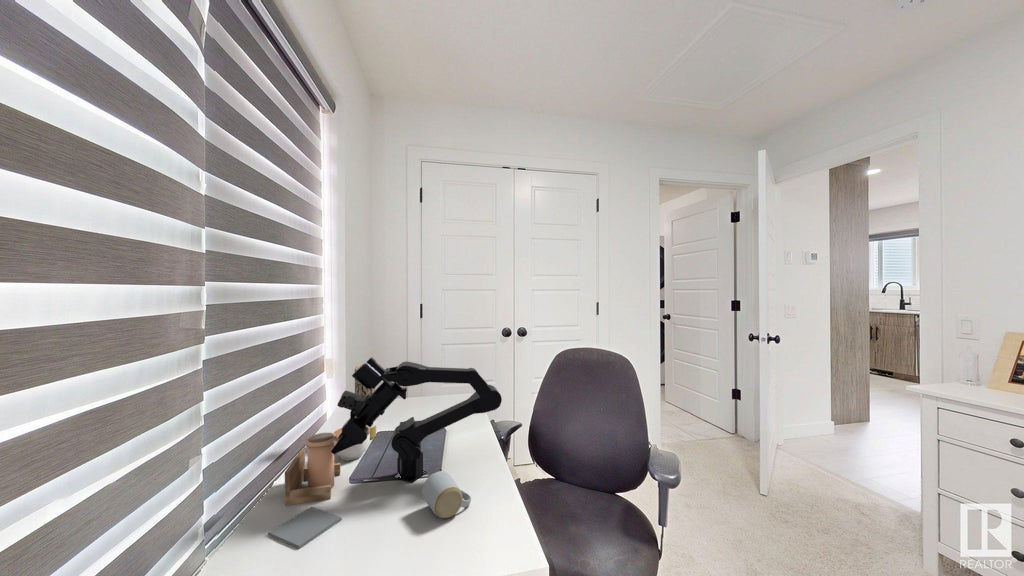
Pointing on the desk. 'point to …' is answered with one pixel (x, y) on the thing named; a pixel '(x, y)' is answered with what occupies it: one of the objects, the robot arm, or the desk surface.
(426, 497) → the ceramic mug
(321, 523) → the slate mat
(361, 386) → the bark log
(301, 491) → the light wood arch piece
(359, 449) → the lidded jar
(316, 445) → the terracotta pot
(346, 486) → the desk surface
